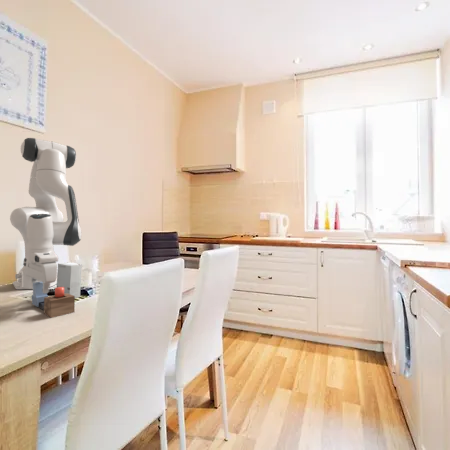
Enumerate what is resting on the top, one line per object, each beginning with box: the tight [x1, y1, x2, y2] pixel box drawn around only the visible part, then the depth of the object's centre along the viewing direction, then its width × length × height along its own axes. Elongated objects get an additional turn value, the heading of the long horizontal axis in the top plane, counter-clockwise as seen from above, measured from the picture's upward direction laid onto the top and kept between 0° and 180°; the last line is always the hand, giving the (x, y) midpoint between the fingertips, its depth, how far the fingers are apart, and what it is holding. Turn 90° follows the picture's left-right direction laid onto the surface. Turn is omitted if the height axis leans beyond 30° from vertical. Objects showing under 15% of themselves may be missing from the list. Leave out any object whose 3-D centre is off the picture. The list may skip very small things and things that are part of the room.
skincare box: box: [56, 261, 83, 299], centre depth 128 cm, size 8×6×15 cm
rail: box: [35, 302, 44, 311], centre depth 113 cm, size 13×2×2 cm, turn 52°
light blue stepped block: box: [31, 282, 49, 308], centre depth 115 cm, size 5×4×8 cm
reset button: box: [54, 286, 64, 297], centre depth 108 cm, size 3×3×3 cm
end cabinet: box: [43, 293, 76, 319], centre depth 108 cm, size 6×8×6 cm
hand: (40, 290), depth 115 cm, fingers open, 8 cm apart
